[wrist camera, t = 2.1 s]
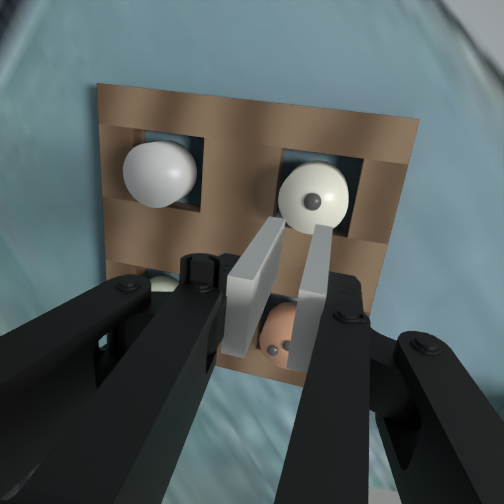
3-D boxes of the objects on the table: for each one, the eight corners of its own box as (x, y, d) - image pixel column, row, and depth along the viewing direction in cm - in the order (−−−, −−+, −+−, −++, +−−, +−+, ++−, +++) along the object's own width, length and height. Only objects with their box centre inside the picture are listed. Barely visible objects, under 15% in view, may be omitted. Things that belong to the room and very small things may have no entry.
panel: (120, 329, 40) (109, 340, 38) (111, 84, 31) (96, 83, 29) (348, 383, 36) (348, 397, 34) (414, 118, 27) (420, 119, 25)
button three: (263, 342, 34) (256, 363, 31) (269, 296, 33) (262, 314, 30) (315, 353, 33) (312, 377, 31) (324, 307, 32) (323, 327, 29)
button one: (280, 217, 30) (273, 229, 27) (289, 156, 28) (282, 161, 25) (341, 227, 29) (341, 240, 26) (353, 165, 27) (355, 171, 24)
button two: (143, 315, 36) (126, 333, 33) (143, 270, 35) (124, 285, 32) (189, 325, 36) (176, 344, 33) (191, 280, 34) (177, 296, 31)
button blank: (142, 194, 32) (123, 202, 29) (142, 136, 30) (122, 139, 27) (195, 203, 31) (181, 212, 28) (198, 144, 29) (183, 147, 26)
